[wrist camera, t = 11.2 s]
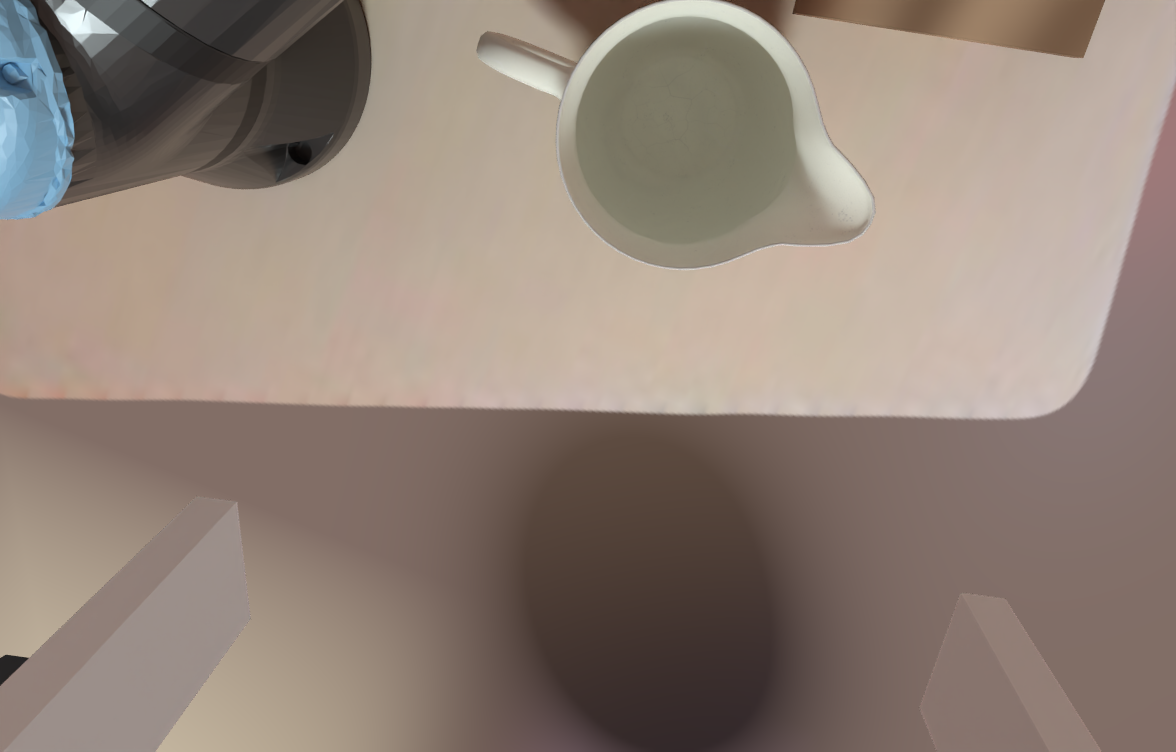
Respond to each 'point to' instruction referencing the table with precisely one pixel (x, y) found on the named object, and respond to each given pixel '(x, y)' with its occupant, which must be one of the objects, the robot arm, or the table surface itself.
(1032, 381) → the table surface
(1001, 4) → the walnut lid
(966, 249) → the table surface
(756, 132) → the pitcher
